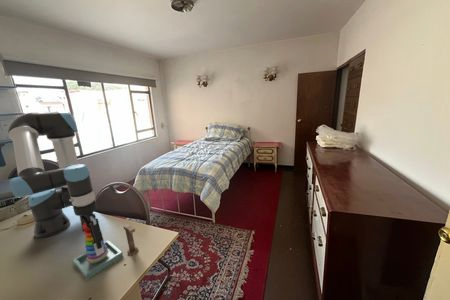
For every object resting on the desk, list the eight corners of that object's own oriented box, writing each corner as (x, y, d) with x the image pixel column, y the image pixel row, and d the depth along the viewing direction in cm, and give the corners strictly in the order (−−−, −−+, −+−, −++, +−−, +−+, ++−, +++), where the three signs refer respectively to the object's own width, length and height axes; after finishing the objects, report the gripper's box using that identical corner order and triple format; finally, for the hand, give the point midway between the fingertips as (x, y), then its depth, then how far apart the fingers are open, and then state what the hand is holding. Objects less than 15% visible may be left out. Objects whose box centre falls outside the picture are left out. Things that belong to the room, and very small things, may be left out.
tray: (74, 264, 81) (73, 259, 81) (108, 244, 92) (107, 240, 92) (87, 280, 73) (85, 275, 73) (123, 256, 84) (122, 251, 84)
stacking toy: (82, 263, 80) (71, 224, 75) (98, 248, 87) (89, 213, 82) (98, 265, 78) (87, 226, 73) (112, 250, 85) (104, 214, 81)
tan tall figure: (125, 252, 86) (120, 227, 83) (134, 246, 90) (130, 222, 87) (132, 258, 83) (127, 232, 80) (142, 252, 86) (137, 226, 83)
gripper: (64, 200, 79) (77, 245, 84) (82, 214, 67) (96, 266, 73) (85, 192, 85) (96, 236, 90) (105, 205, 73) (116, 254, 79)
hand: (96, 249), depth 82 cm, fingers closed on stacking toy, 7 cm apart
